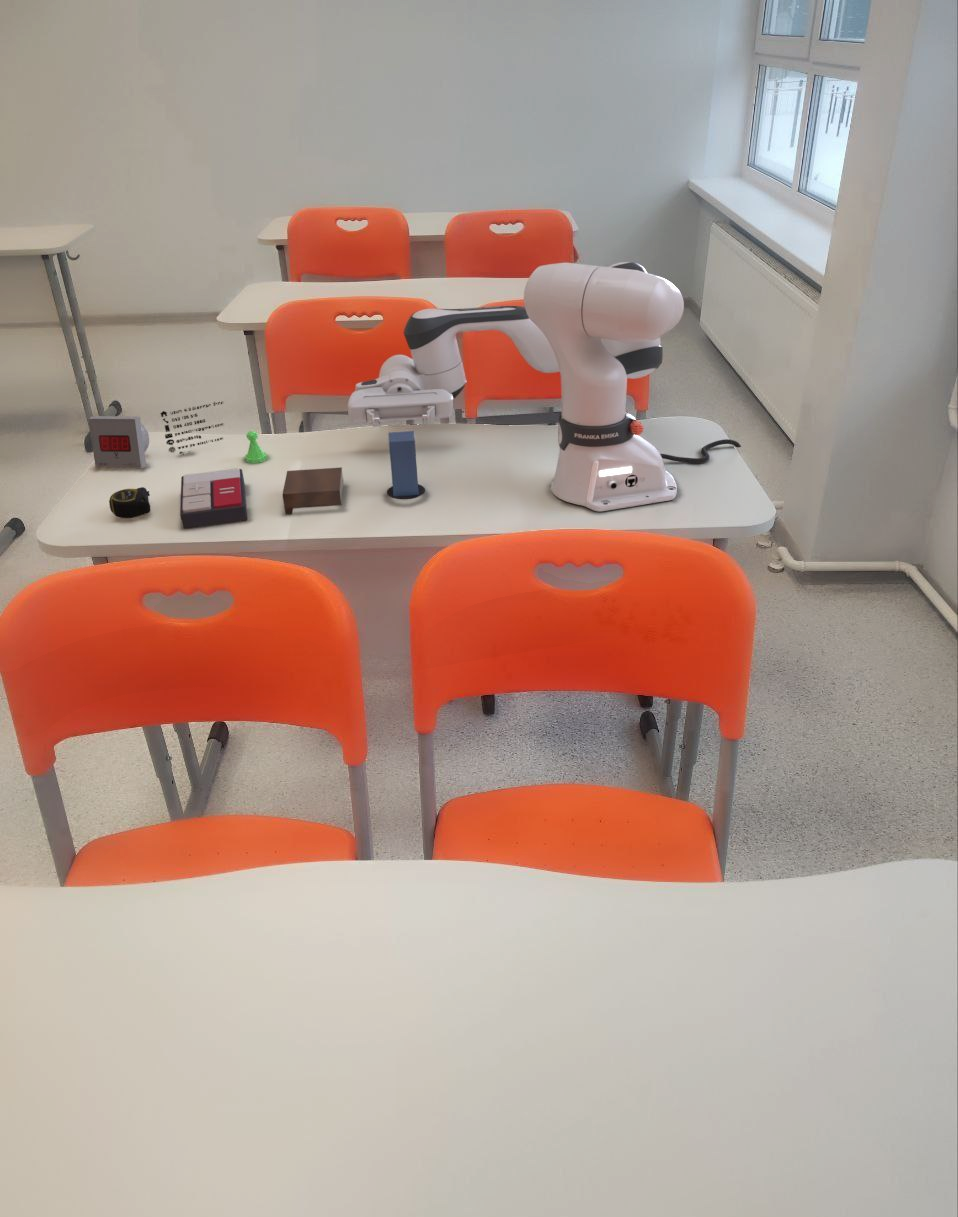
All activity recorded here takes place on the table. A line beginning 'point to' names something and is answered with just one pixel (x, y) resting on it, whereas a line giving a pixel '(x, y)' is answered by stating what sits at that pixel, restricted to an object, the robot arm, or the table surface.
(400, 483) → the block
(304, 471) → the stand
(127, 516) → the tape measure
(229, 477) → the calculator
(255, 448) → the game piece
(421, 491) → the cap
